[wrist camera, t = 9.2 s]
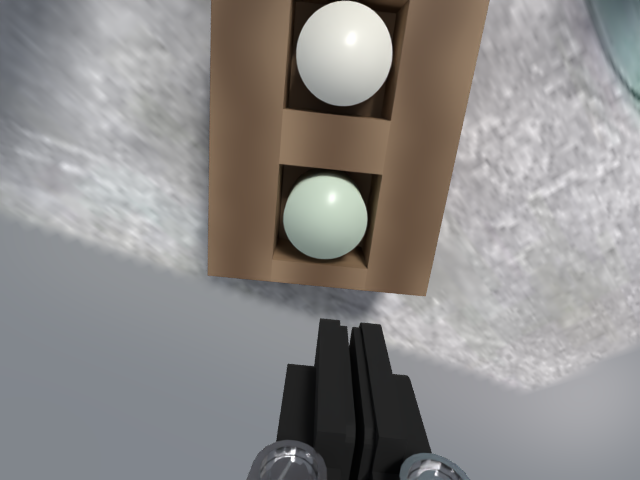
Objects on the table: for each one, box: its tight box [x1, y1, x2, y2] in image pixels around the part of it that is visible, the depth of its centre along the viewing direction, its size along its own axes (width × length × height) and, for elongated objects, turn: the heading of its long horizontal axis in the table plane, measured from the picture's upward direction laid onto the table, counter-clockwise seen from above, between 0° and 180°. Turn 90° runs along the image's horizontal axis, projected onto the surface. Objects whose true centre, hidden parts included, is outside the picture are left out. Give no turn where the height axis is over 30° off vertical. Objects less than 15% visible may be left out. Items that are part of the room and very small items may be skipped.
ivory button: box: [296, 1, 392, 106], centre depth 23 cm, size 5×5×4 cm
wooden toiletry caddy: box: [208, 0, 490, 296], centre depth 27 cm, size 14×18×8 cm
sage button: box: [283, 168, 367, 259], centre depth 26 cm, size 5×5×4 cm
